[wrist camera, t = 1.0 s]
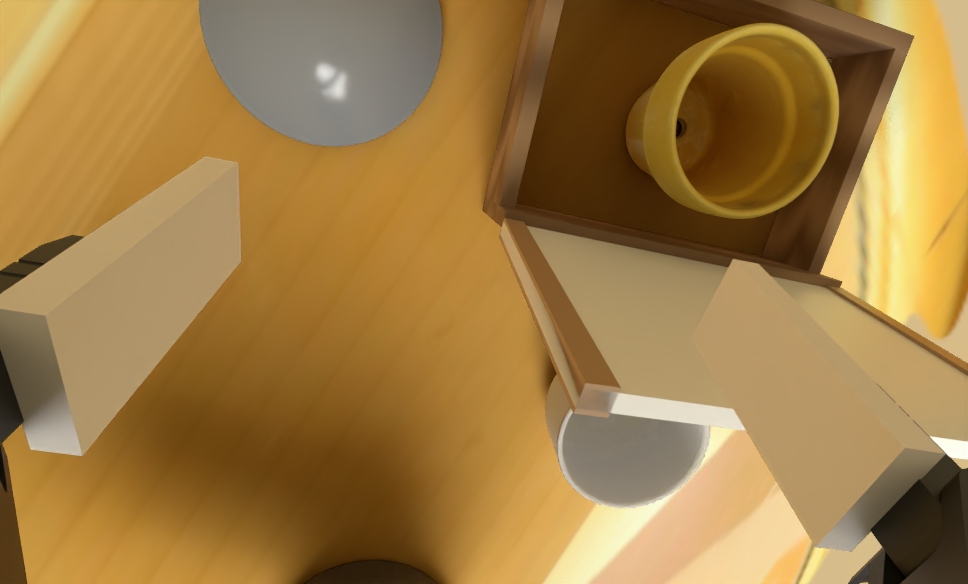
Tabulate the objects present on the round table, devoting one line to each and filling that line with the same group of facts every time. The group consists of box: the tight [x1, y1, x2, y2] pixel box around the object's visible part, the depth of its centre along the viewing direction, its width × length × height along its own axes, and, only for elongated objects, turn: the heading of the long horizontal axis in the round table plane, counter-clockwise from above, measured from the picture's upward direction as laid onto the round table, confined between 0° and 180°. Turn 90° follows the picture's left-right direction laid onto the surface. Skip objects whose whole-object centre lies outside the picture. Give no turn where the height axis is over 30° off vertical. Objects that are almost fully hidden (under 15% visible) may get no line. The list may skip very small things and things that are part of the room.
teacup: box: [545, 374, 710, 508], centre depth 39 cm, size 14×11×8 cm
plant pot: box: [626, 23, 839, 219], centre depth 33 cm, size 10×10×10 cm
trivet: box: [199, 0, 442, 147], centre depth 32 cm, size 14×14×1 cm
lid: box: [499, 218, 968, 459], centre depth 26 cm, size 4×24×16 cm, turn 77°
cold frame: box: [483, 0, 914, 288], centre depth 34 cm, size 17×24×7 cm
